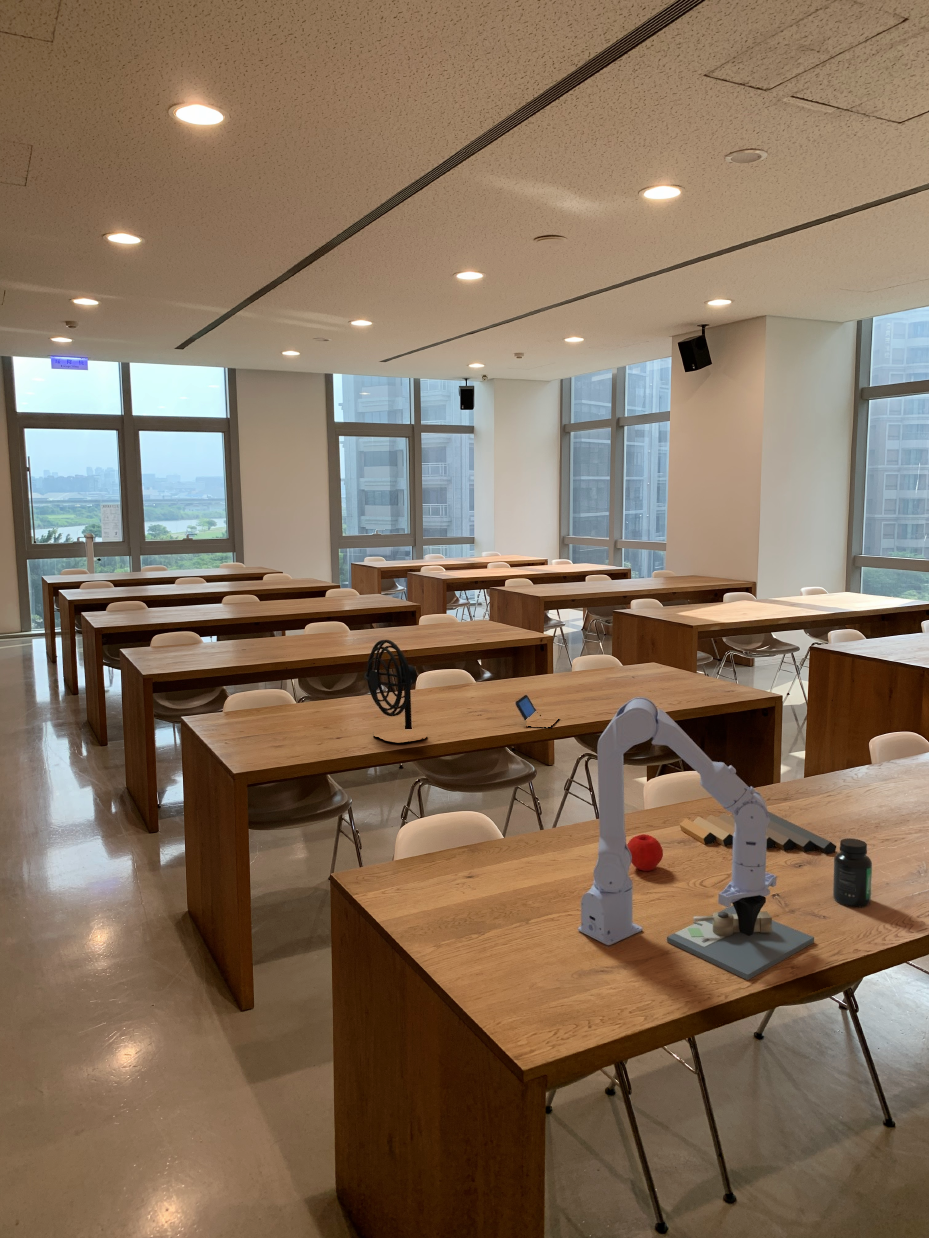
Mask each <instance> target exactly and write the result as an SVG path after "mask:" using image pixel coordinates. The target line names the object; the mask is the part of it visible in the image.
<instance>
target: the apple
mask: <svg viewBox="0 0 929 1238" xmlns="http://www.w3.org/2000/svg"><path fill="white" fill-rule="evenodd" d="M626 844H627V847H628V849H629V850H630V853H631V856H632V860H631V864H632V865H633V866H634V867H635V868H636V869H637V870H640V871H643V872H650V871H653V870H654V869H655V868H656V867H657V866H658V865H659V864H660V863H661V862H662V859H663V857H664V850H663V847H662V845H661V843H660V842H659V840H658V839H656V838H655V837H654V836H651V835H650V834H638V835H635V836H633V837H632V838H631V839H630V840H629V841H628V842H627V843H626Z"/></svg>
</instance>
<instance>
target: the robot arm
mask: <svg viewBox="0 0 929 1238" xmlns="http://www.w3.org/2000/svg"><path fill="white" fill-rule="evenodd" d="M651 738H652V739H651ZM650 739H651V744H652V745H656V746H657V745H660V746H667V747H668V748H670V749H671V750H672V751H673V752H675V753H676V754H677V755H678V757H680V758H681V759H682V760H683V761H684V762H685V763H686V764H688V765H689V766H690V767H691V768H692V769H693V770H694V771H696V772H697V774H699V775H700V778H699V779H700V780H699V781H700V786H701V787H702V788H703V789H704V790H705V791H706V792H707V793H708V794H710V795H709V796H711V797H712V798H713V799H714V800H715V801H716V802H717V803H718V804H720V805H721V806H722V807H723V809H725V810H726V811H727V812H729V813H731V814H732V813H733V814H734V821H735V832H734V834H733V845H732V861H731V862H732V864H731V880H730V881H729V883H728V884H727V885H726V886H725V888H724V889H723V890H722V891H720V892H719V893H718V902H717V904H718V905H721V906H724V907H725V908H728V907H730V906H732V905H733V906H734V908H735V910H736V913H737V916H738V923H739V931H740V932H741V933H743V934H746V935H748V936H751V935H753V932H754V927H755V922H756V919H757V916H758V914H759V912H760V911H762V908H763V906H765V904H766V902H767V901H766V900H767V896H769V895H770V894H771V890H770V889H769V888H770V887H772V888H774V887H776V886H777V879H778V878H777V875H775V874H774V873H770V872H767V871H766V869H767V865H766V864H767V849H766V847H767V838H766V832H767V828H766V827H767V826H768V824H769V822H770V818H769V814H768V812H769V810H768V807H767V803H766V801H765V799H764V798H763V796H762V794H761V793H760V792H759V791H757V790H756V789H755V788H754V786H752V785H751V786H750V787H749V786H748V784H746V783H745V782H744V781H743V780H742V779H741V778H740V777H739V776H738V775H737V774H736V773H737V770H736V768H735V767H734V766H733V765H732V764H731V765H729V766H728V765H727V764H725V762H722V761H719V762H718V761H712V759H711V758H710V757H709V755H707V754H706V753H705V751H703V749H701V748H700V747H699V746H698V745H697V744H696V742H694V741H693V739H692V738H690V736H689V735H688V734H687V733H686V732H685V731H684V730H683V729H682V727H680V725H678V723H677V722H675V721H674V719H673V718H671V717H670V715H669V714H668V713H666V712H665V711H664V710H663V709H661V708H657V706H656V704H655V703H654V702H653V701H652V700H651V699H649V698H647V697H644V696H643V697H642V696H639V697H634V698H632V699H630V700H628V701H626V703H624V704H623V705H622V706H620V707H619V708H618V710H617V711H616V713H615V714H614V716H613V718H612V719H611V720H610V721H609V724H608V725H607V727H606V728H605V729H604V730H603V732H602V734H601V735H600V737H599V738H598V741H597V748H596V749H597V753H596V754H597V783H598V786H597V787H598V788H597V789H598V823H599V824H598V825H599V828H598V829H599V840H598V849H597V850H598V851H597V852H598V853H597V855H598V856H597V861H596V864H595V867H593V868H594V869H593V881H592V886H591V888H590V889H589V890H588V891H586V892H585V893H584V894H583V895H582V897H581V900H580V926H578V928H577V931H579V932H581V933H582V934H585V935H587V936H588V937H590V938H592V939H594V940H597V941H598V942H600V943H602V944H604V945H606V946H611V945H613V944H616V943H618V942H620V941H622V940H624V939H627V938H628V937H631V936H633V935H635V934H637V933H640V932H641V931H643V927H642V926H641V925H638V924H636V923H634V922H633V913H634V911H633V909H634V907H633V906H634V905H633V895H634V894H633V891H634V889H633V885H634V884H633V879H631V877H630V876H629V871H630V866H631V864H632V863H631V860H632V856H631V853H630V850H629V849H628V847H627V844H628V843H627V835H626V826H625V825H626V823H625V822H626V821H625V820H626V819H625V818H626V817H625V776H624V773H625V772H624V754H625V753H626V752H627V751H629V750H630V749H631V748H632V747H634V746H635V745H639V744H642V743H645V742H646V741H648V740H650Z"/></svg>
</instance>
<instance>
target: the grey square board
mask: <svg viewBox="0 0 929 1238" xmlns="http://www.w3.org/2000/svg"><path fill="white" fill-rule="evenodd" d="M721 911H722V912H728V913H730V914H737V913H736V910H735V908H734V906H733V904H731V906H730V907H725V908H724V909H722V910H721ZM711 916H713V914H712V915H711ZM666 942H667V943H669V944H671V945H672V946H675V947H677V948H678V949H680V950H683V951H685V952H687V953H689V954H691V955H694V956H696V957H698V958H700V959H702V960H704V961H706V962H708V963H710V964H712V965H715V966H717V967H719V968H720V969H723V970H725V971H727V972H730V973H731V974H733V975H736V976H738V977H739V978H742V979H744V980H746V981H749V980H751V979H752V978H755V977H756V976H758V975H760V974H761V973H763V972H765V971H766V970H768V969H770V968H772V967H774V966H775V965H777V964H779V963H781V962H782V961H784V960H786V959H787V958H789V957H791V956H793V955H795V954H796V953H798V952H800V951H801V950H803V949H805V948H807V947H808V946H810V945H812V944H813V943H815V937H814V936H813V935H810V934H807V933H805V932H803V931H800V930H797V929H795V928H793V927H791V926H787V925H785V924H783V923H780V922H778V921H775V920H773V919H772V932H764V933H761V932H753V935H751V936H748V935H746V934H743V933H741V932H734V933H733V934H732V935H730V936H720V935H717V934H715V933H714V932H713V921H693V924H691V925H689V926H687V927H684V928H683V929H681V930H678V931H676V932H674V933H671V934H670V935H668V936H666Z"/></svg>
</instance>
